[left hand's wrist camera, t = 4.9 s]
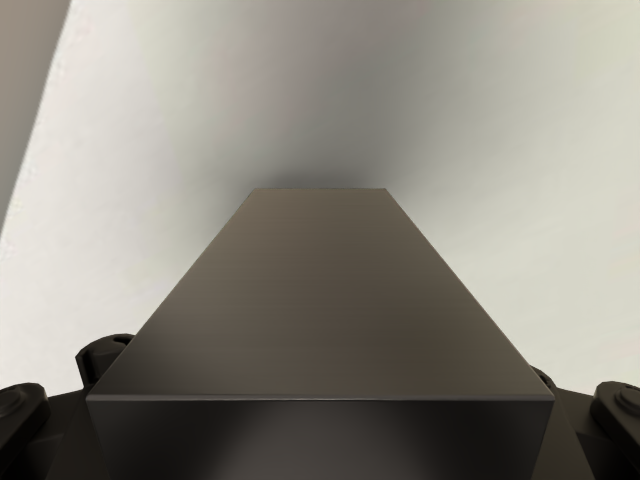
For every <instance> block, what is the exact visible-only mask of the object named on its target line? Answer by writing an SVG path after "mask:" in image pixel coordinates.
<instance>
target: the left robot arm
mask: <svg viewBox="0 0 640 480" xmlns="http://www.w3.org/2000/svg"><path fill="white" fill-rule="evenodd" d="M134 337H135V335H131V334H114V335H110V336H106V337H103V338H100V339H98V340H96V341H94V342H91V343H90V344H88V345H87V346H86V347H84V348H83V349H81V350H80V352H79V353H78V354H77V355H76V356H75V359H76V362H77V365H78V369H79V372H80V375H81V378H82V382H83V385H84V388H83V389H81V390H78V391H74V392H70V393H65V394H61V395H56V396H52V397H47V395H46V392H45V389H44V387H42V386H41V385H40V384H37V383H23V384H17V385H13V386H10V387H7V388H4V389H1V390H0V480H110V478H109V475H108V472H107V468H106V465H105V462H104V459H103V455H102V452H101V449H100V446H99V442H98V439H97V436H96V432H95V429H94V426H93V423H92V419H91V416H90V413H89V409H88V406H87V403H86V396H87V394H88V393H89V392H90V391H91V389H92V388H93V387H94V386H95V384H96V383H97V382H98V381H99V380H100V378H101V377H102V376H103V375H104V373H105V372H106V371H107V370H108V369H109V367H110V366H111V365H112V364H113V362H114V361H115V360H116V359H117V357H118V356H119V355H120V354H121V353H122V351H123V350H124V349H125V348H126V346H127V345H128V344H129V343H130V341H131V340H132V339H133V338H134ZM530 366H531V365H530ZM531 368H532V369H533V370H534V371H535V372H536V374H537V375H538V376H539V377H540V379H541V380H542V381H543V382H544V383H545V385H546V386H547V387H548V388H549V390H550V391H551V392H552V393H553V395H554V397H555V403H554V406H553V409H552V413H551V416H550V419H549V422H548V426H547V429H546V432H545V435H544V439H543V442H542V445H541V448H540V452H539V455H538V458H537V461H536V465H535V468H534V471H533V475H532V478H531V480H640V388H638V387H636V386H632V385H629V384H626V383H621V382H615V381H609V382H602V383H601V384H599V385H598V386H597V388H596V390H595V393H594V396H591V395H586V394H582V393H577V392H573V391H568V390H564V389H560V388H557V387H556V385H555V384H554V382H553V381H552V380H551V378H550V377H548V376H547V375H546V374H545V373H543V372H542V371H541V370H539V369H537V368H535V367H533V366H531Z"/></svg>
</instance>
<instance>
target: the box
mask: <svg viewBox="0 0 640 480" xmlns="http://www.w3.org/2000/svg"><path fill="white" fill-rule="evenodd" d="M86 403H87V406H88V409H89V413H90V416H91V419H92V423H93V426H94V429H95V432H96V436H97V439H98V442H99V446H100V449H101V452H102V455H103V459H104V462H105V465H106V468H107V472H108V475H109V478H110V480H531V478H532V475H533V471H534V468H535V465H536V461H537V458H538V455H539V452H540V448H541V445H542V442H543V439H544V435H545V432H546V429H547V426H548V422H549V419H550V416H551V413H552V409H553V406H554V403H555V397H554V395H553V393H552V392H551V391H550V390H549V388H548V387H547V386H546V385H545V383H544V382H543V381H542V380H541V379H540V377H539V376H538V375H537V374H536V372H535V371H534V370H533V369H532V368H531V366H530V365H529V364H528V363H527V361H526V360H525V359H524V358H523V357H522V355H521V354H520V353H519V352H518V350H517V349H516V348H515V347H514V346H513V344H512V343H511V342H510V341H509V339H508V338H507V337H506V336H505V334H504V333H503V332H502V331H501V330H500V328H499V327H498V326H497V325H496V323H495V322H494V321H493V320H492V319H491V317H490V316H489V315H488V314H487V312H486V311H485V310H484V309H483V308H482V306H481V305H480V304H479V303H478V301H477V300H476V299H475V298H474V296H473V295H472V294H471V293H470V292H469V290H468V289H467V288H466V287H465V285H464V284H463V283H462V282H461V281H460V279H459V278H458V277H457V276H456V274H455V273H454V272H453V271H452V270H451V268H450V267H449V266H448V265H447V263H446V262H445V261H444V260H443V259H442V257H441V256H440V255H439V254H438V252H437V251H436V250H435V249H434V247H433V246H432V245H431V244H430V243H429V241H428V240H427V239H426V238H425V236H424V235H423V234H422V233H421V232H420V230H419V229H418V228H417V227H416V225H415V224H414V223H413V222H412V221H411V219H410V218H409V217H408V216H407V214H406V213H405V212H404V211H403V209H402V208H401V207H400V206H399V205H398V203H397V202H396V201H395V200H394V198H393V197H392V196H391V195H390V194H389V192H388V191H387V190H386V189H254V190H253V192H252V193H251V194H250V195H249V196H248V198H247V199H246V200H245V201H244V203H243V204H242V205H241V206H240V208H239V209H238V210H237V211H236V212H235V214H234V215H233V216H232V217H231V219H230V220H229V221H228V222H227V224H226V225H225V226H224V227H223V228H222V230H221V231H220V232H219V233H218V235H217V236H216V237H215V238H214V239H213V241H212V242H211V243H210V244H209V246H208V247H207V248H206V249H205V251H204V252H203V253H202V254H201V255H200V257H199V258H198V259H197V260H196V262H195V263H194V264H193V265H192V267H191V268H190V269H189V270H188V271H187V273H186V274H185V275H184V276H183V278H182V279H181V280H180V281H179V282H178V284H177V285H176V286H175V287H174V289H173V290H172V291H171V292H170V294H169V295H168V296H167V297H166V298H165V300H164V301H163V302H162V303H161V305H160V306H159V307H158V308H157V310H156V311H155V312H154V313H153V314H152V316H151V317H150V318H149V319H148V321H147V322H146V323H145V324H144V326H143V327H142V328H141V329H140V330H139V332H138V333H137V334H136V335H135V337H134V338H133V339H132V340H131V341H130V343H129V344H128V345H127V346H126V348H125V349H124V350H123V351H122V353H121V354H120V355H119V356H118V357H117V359H116V360H115V361H114V362H113V364H112V365H111V366H110V367H109V369H108V370H107V371H106V372H105V373H104V375H103V376H102V377H101V378H100V380H99V381H98V382H97V383H96V384H95V386H94V387H93V388H92V389H91V391H90V392H89V393H88V394H87V396H86Z"/></svg>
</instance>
